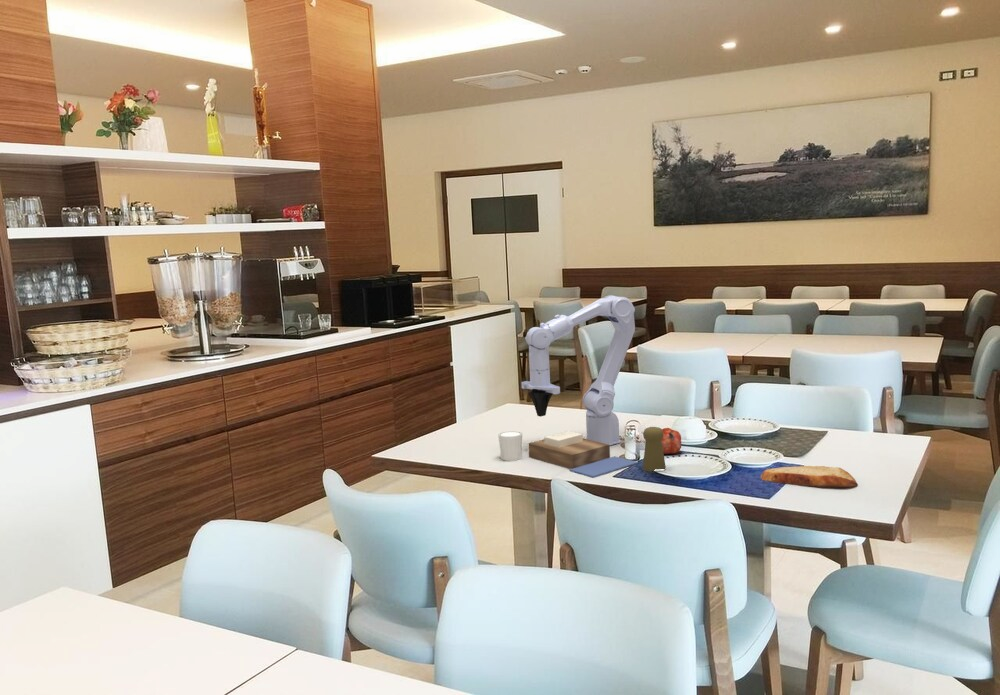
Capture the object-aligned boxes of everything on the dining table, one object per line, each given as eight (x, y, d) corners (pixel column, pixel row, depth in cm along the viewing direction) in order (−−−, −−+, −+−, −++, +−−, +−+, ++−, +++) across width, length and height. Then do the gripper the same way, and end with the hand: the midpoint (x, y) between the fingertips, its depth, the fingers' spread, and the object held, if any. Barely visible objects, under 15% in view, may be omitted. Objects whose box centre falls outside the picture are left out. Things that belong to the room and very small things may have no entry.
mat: (614, 457, 224) (614, 456, 224) (638, 463, 218) (638, 462, 218) (569, 470, 214) (569, 469, 214) (593, 477, 207) (593, 476, 207)
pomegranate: (652, 458, 229) (655, 445, 221) (653, 435, 233) (656, 420, 224) (679, 461, 228) (683, 448, 220) (680, 437, 232) (684, 423, 223)
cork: (648, 473, 209) (647, 431, 207) (638, 466, 215) (637, 426, 213) (670, 470, 211) (669, 428, 209) (659, 464, 216) (658, 423, 215)
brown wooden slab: (565, 447, 238) (564, 433, 237) (610, 458, 224) (609, 444, 223) (529, 457, 229) (528, 443, 229) (573, 469, 215) (572, 454, 215)
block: (568, 437, 233) (567, 431, 232) (582, 441, 228) (582, 434, 228) (544, 443, 227) (544, 437, 227) (559, 447, 222) (558, 440, 222)
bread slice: (754, 478, 202) (754, 463, 201) (812, 467, 208) (812, 453, 207) (804, 498, 185) (804, 482, 185) (866, 486, 191) (866, 471, 191)
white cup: (526, 455, 231) (525, 431, 230) (520, 461, 225) (519, 437, 224) (503, 454, 233) (501, 430, 232) (496, 461, 227) (495, 436, 226)
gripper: (512, 368, 235) (514, 414, 237) (545, 373, 224) (547, 421, 226) (531, 365, 239) (533, 410, 241) (564, 370, 228) (566, 417, 230)
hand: (541, 415), depth 234 cm, fingers closed
